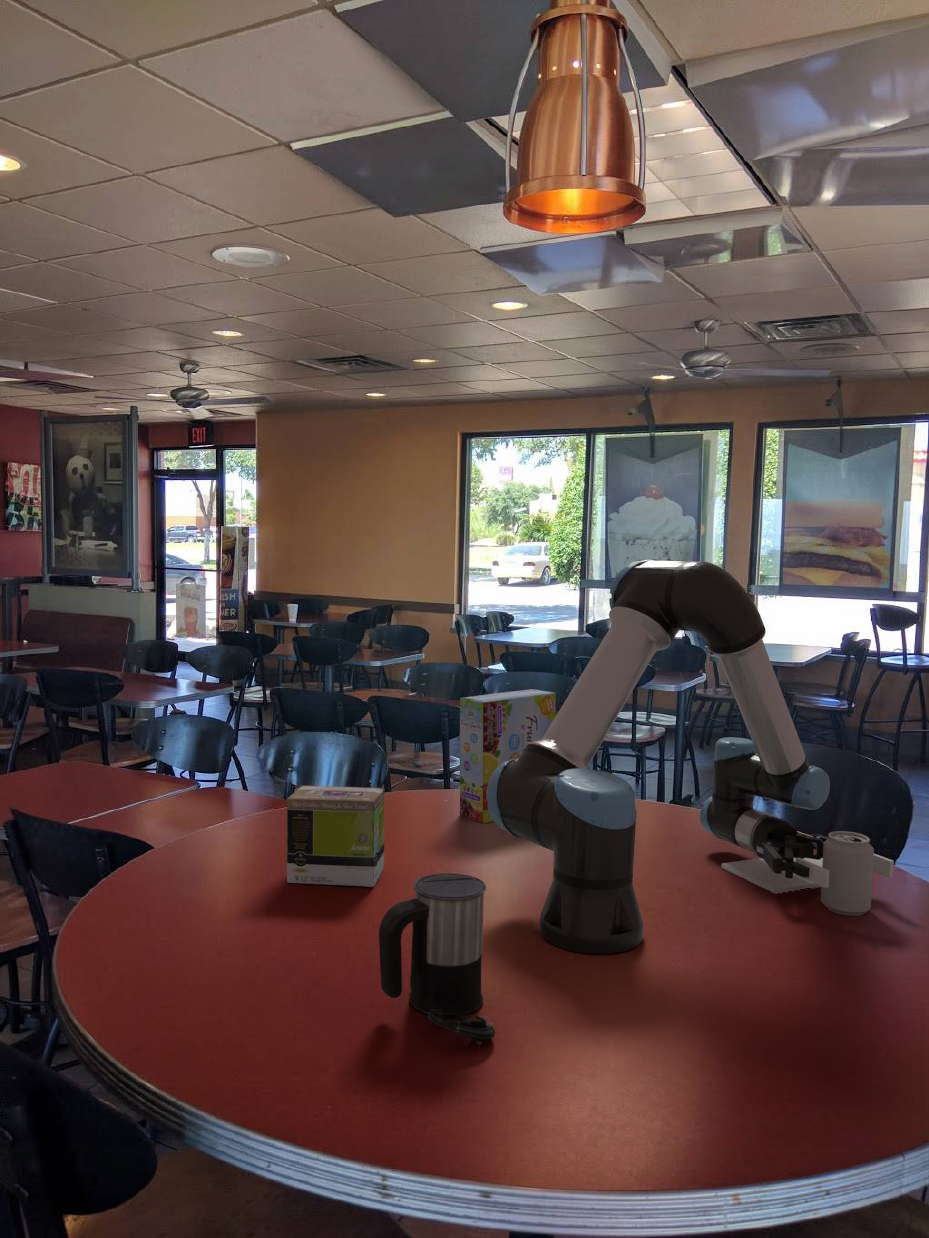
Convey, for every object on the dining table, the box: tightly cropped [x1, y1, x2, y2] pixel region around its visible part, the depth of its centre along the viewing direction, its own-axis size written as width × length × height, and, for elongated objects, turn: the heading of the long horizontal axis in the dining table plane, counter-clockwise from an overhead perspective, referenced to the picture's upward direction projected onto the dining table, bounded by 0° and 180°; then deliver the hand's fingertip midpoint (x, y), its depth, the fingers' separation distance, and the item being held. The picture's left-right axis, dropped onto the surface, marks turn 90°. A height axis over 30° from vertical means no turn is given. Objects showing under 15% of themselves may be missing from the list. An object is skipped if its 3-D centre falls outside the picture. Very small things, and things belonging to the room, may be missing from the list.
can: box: [820, 830, 875, 917], centre depth 152 cm, size 8×8×12 cm
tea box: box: [286, 785, 385, 888], centre depth 161 cm, size 15×10×15 cm
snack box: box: [459, 689, 557, 824], centre depth 204 cm, size 22×9×26 cm, turn 130°
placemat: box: [721, 857, 823, 895], centre depth 169 cm, size 20×14×1 cm
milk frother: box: [378, 872, 496, 1043], centre depth 113 cm, size 14×16×15 cm
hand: (860, 874), depth 150 cm, fingers open, 13 cm apart
